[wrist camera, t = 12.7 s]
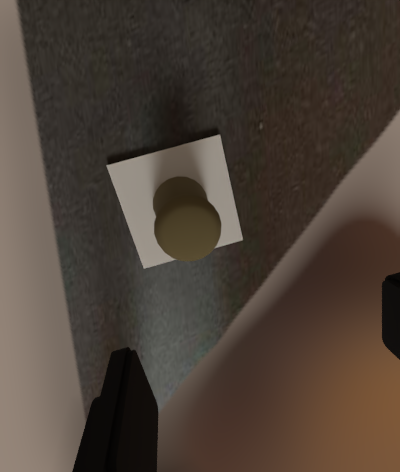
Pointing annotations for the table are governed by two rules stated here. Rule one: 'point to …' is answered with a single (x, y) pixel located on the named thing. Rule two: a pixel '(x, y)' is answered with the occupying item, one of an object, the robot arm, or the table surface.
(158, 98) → the table surface
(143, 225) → the tile
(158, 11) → the table surface
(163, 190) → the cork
